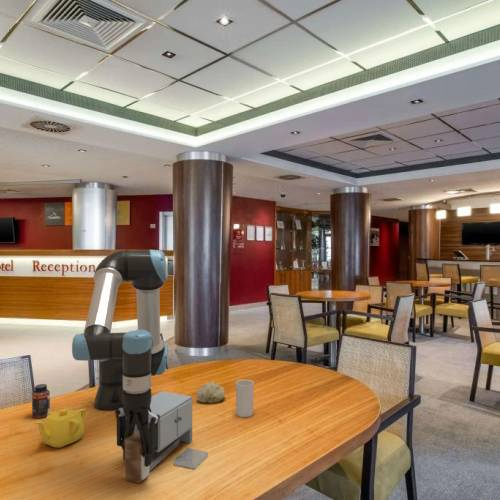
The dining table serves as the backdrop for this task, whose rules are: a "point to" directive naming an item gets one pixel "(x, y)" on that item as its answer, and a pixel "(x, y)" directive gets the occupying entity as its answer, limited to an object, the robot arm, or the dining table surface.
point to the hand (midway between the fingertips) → (137, 474)
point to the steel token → (191, 458)
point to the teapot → (62, 427)
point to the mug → (244, 398)
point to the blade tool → (134, 457)
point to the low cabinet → (172, 418)
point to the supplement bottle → (40, 401)
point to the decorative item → (210, 393)
